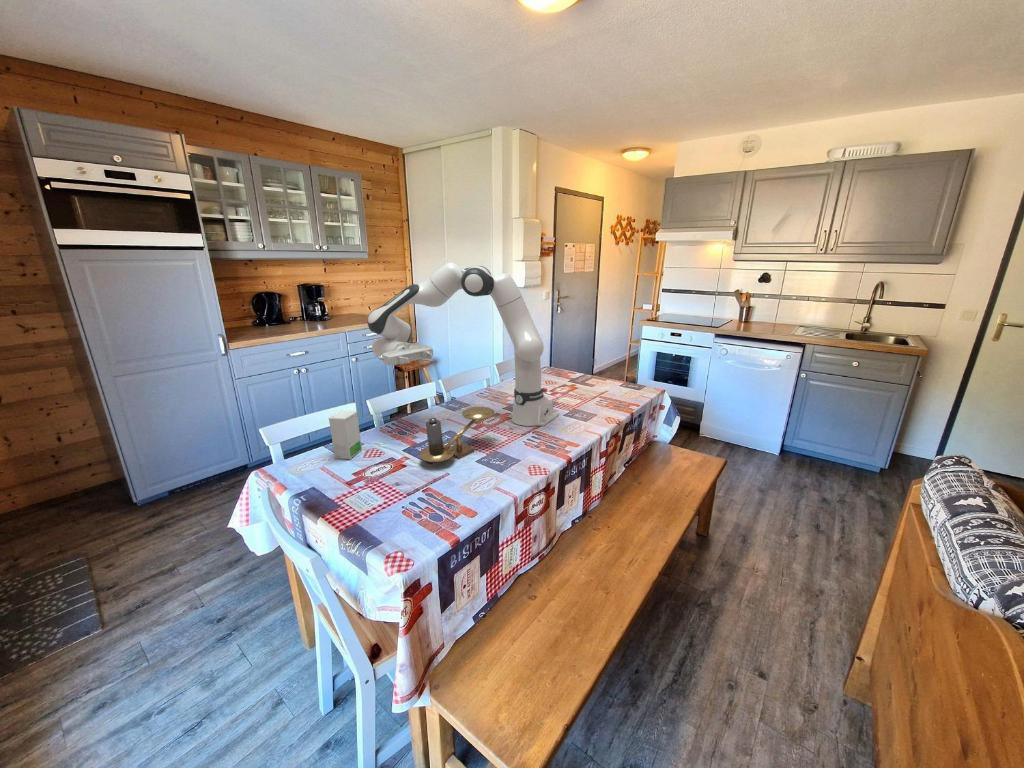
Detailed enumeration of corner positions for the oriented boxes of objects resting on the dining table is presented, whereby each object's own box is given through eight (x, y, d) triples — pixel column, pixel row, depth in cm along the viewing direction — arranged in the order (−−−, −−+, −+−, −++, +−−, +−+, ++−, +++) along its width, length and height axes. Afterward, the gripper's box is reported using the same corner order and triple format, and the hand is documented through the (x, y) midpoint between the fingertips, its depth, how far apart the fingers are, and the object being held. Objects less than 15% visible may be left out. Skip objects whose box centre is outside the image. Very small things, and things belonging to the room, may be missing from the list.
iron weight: (438, 447, 145) (434, 414, 141) (446, 451, 142) (443, 418, 137) (426, 452, 141) (422, 419, 137) (435, 457, 138) (431, 423, 134)
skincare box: (350, 460, 144) (344, 419, 139) (333, 458, 145) (327, 417, 141) (362, 449, 152) (357, 410, 147) (346, 448, 153) (341, 409, 149)
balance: (480, 433, 165) (479, 404, 161) (501, 442, 157) (500, 411, 153) (412, 462, 142) (409, 429, 138) (434, 474, 134) (431, 439, 131)
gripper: (374, 349, 154) (395, 355, 145) (420, 341, 168) (441, 345, 159) (376, 365, 156) (396, 372, 147) (421, 356, 170) (442, 361, 161)
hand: (420, 358), depth 153 cm, fingers open, 8 cm apart
